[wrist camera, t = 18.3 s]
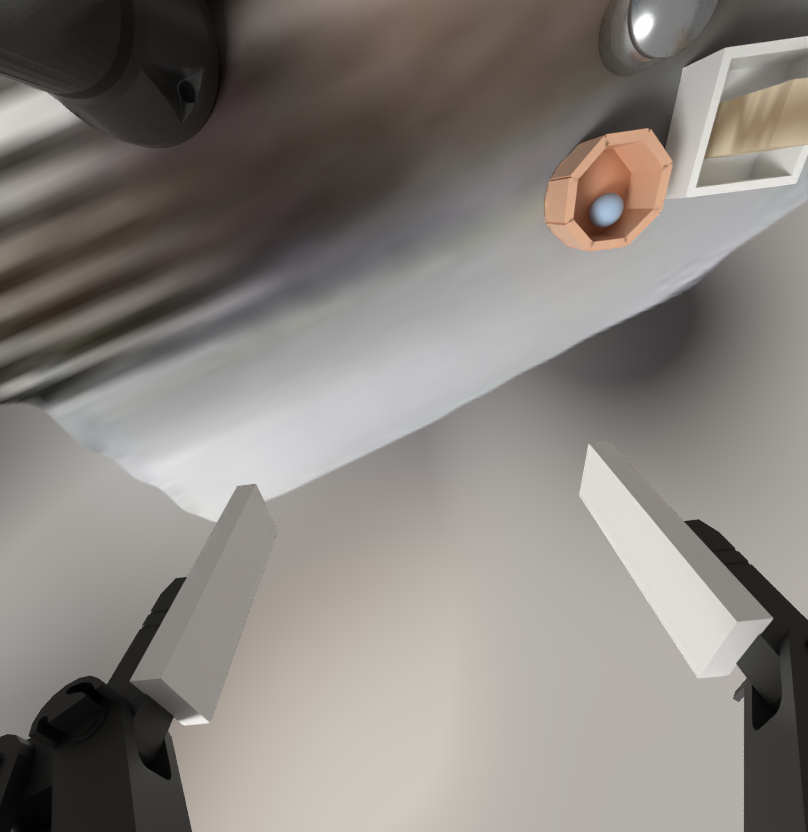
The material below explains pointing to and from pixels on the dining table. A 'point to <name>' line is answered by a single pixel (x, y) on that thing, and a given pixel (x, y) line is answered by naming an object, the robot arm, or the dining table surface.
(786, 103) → the block
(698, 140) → the tray white
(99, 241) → the dining table surface
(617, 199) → the ball
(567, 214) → the terracotta cup
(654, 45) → the tin
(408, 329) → the dining table surface
